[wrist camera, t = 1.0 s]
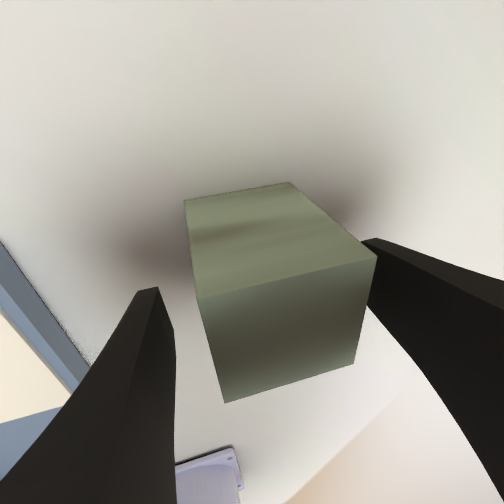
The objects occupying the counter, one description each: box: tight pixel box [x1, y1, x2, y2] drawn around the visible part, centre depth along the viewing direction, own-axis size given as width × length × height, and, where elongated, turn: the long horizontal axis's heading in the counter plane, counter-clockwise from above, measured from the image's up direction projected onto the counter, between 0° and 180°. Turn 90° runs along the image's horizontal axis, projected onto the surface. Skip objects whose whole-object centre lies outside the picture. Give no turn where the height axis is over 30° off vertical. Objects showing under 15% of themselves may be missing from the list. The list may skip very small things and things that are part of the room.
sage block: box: [184, 182, 377, 403], centre depth 10 cm, size 4×4×6 cm
